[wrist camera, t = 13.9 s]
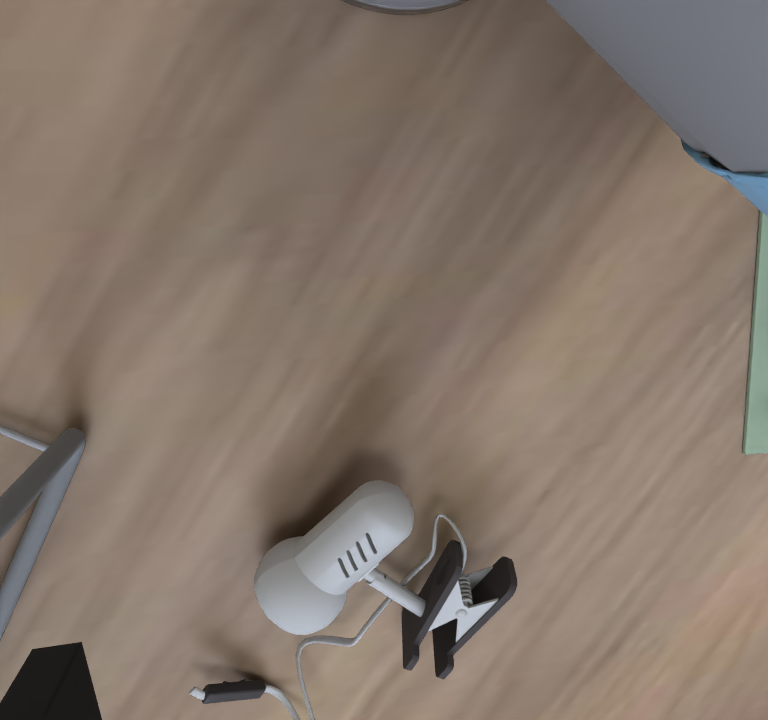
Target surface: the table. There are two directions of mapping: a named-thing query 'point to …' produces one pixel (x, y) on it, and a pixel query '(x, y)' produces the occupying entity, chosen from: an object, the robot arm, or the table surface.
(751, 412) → the desk mat
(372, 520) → the clip-on lamp
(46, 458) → the newton's cradle
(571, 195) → the table surface
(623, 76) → the robot arm
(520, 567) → the table surface
